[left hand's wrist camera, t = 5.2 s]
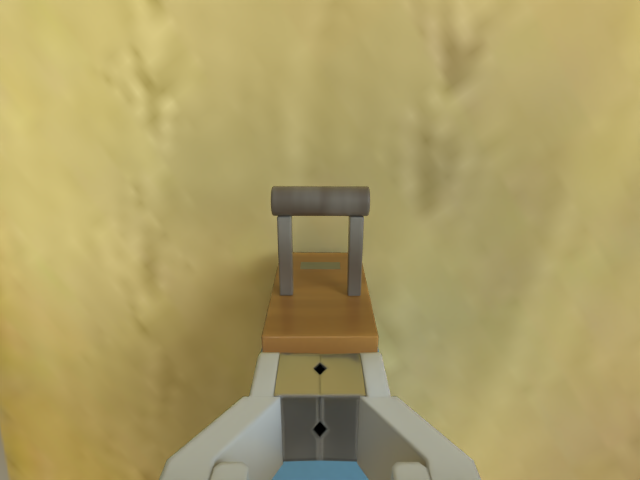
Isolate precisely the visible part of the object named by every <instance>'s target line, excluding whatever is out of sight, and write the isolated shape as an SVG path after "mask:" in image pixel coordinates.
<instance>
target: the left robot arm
mask: <svg viewBox="0 0 640 480" xmlns="http://www.w3.org/2000/svg"><path fill="white" fill-rule="evenodd" d="M288 461H351V462H357V464H358V465H359V467H360V468H361V470H362V471H363V472H364V474H365V475H366V477H367V478H368V479H369V480H481V478H480V476H479V473H478V471H477V468H476V466H475V463H474V461H473V460H472V459H471V458H470V457H469V456H467V455H466V454H465V453H464V452H463V451H461V450H460V449H459V448H458V447H457V446H455V445H454V444H453V443H452V442H451V441H450V440H448V439H447V438H446V437H445V436H444V435H442V434H441V433H440V432H439V431H438V430H436V429H435V428H434V427H433V426H432V425H430V424H429V423H428V422H427V421H426V420H424V419H423V418H422V417H421V416H420V415H418V414H417V413H416V412H415V411H414V410H412V409H411V408H410V407H409V406H408V405H406V404H405V403H404V402H403V401H402V400H401V399H399V398H398V397H392V396H391V394H390V390H389V385H388V381H387V377H386V372H385V368H384V363H383V359H382V355H381V353H380V352H369V353H345V354H320V353H279V352H260V354H259V355H258V359H257V363H256V368H255V372H254V376H253V381H252V385H251V390H250V394H249V396H248V397H242V398H241V399H240V400H238V401H237V402H236V403H235V404H234V405H232V406H231V407H230V408H229V409H227V410H226V411H225V412H224V413H223V414H221V415H220V416H219V417H218V418H217V419H215V420H214V421H213V422H212V423H211V424H209V425H208V426H207V427H206V428H205V429H203V430H202V431H201V432H200V433H199V434H197V435H196V436H195V437H194V438H193V439H191V440H190V441H189V442H188V443H187V444H185V445H184V446H183V447H182V448H181V449H179V450H178V451H177V452H176V453H175V454H173V455H172V456H171V457H170V458H169V459H167V461H166V464H165V466H164V468H163V471H162V473H161V476H160V478H159V480H272V478H273V477H274V476H275V474H276V473H277V471H278V470H279V469H280V467H281V466H282V465H283V462H288Z"/></svg>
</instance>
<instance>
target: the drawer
mask: <svg viewBox="0 0 640 480" xmlns="http://www.w3.org/2000/svg"><path fill="white" fill-rule="evenodd" d="M369 210H370V191H369V187H302V186H274V187H272V190H271V211H272V214H273V215H274V216H278V217H277V230H278V258H279V263H278V267H277V272H276V276H275V280H274V285H273V289H272V293H271V298H270V302H269V306H268V311H267V315H266V319H265V324H264V328H263V333H262V352H279V353H320V354H345V353H369V352H378V338H379V337H378V332H377V328H376V323H375V319H374V314H373V310H372V305H371V301H370V296H369V292H368V287H367V283H366V278H365V274H364V269H363V265H362V250H363V225H364V217H363V216H368V214H369ZM292 216H349V234H348V253H293V246H292Z"/></svg>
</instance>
